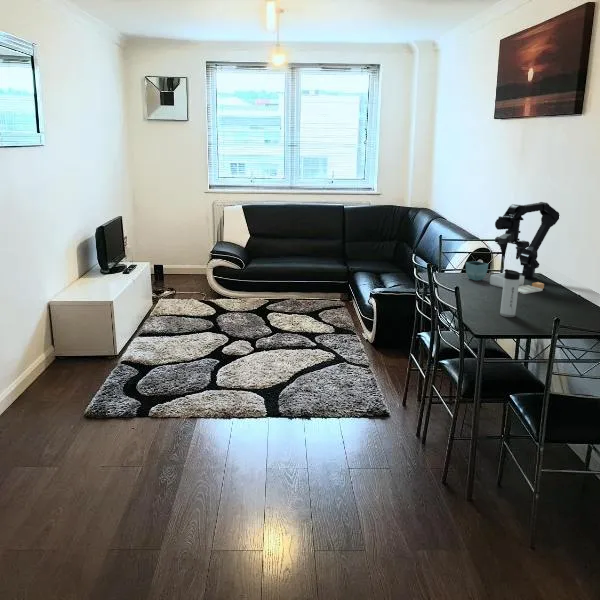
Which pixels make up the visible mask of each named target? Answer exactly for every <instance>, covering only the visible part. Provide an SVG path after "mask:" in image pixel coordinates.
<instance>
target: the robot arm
mask: <svg viewBox="0 0 600 600" xmlns="http://www.w3.org/2000/svg"><path fill="white" fill-rule="evenodd" d="M534 212H539V213H540V215H541V218H540V219H541V220H540V221H541V223H540V226H539V227H538V230H537V231H536V233H535V235H534V236H533V238H532V240H531V242H530V241H529V240H528V241H527V240H520V237H519V234H521V233H522V232H521V230H520V225H521V221H524V218H523V217H522V216H525V215H526V214H527V213H534ZM559 216H560V213H559V211H557V210H556V209H555V208H554V207H552V206H551V205H550V204H549V203H548V202H543V201H540V202H535V203H529V204H524V205H523V204H513V203H512V204H510V205H509V206H508V207H507V210H506V211H505V213H503V215H502V216H498V218H497V219H496V221H495V223H494V226H495V229H496V230H500V231H501V230H505V232H504V234H501V235H499V236H496V237H495V239H494V243H496V244H497V245H498V246H499V248H500V251H501V252H500V253H501V254H502V255H501V256H502V257H505V255H506V252H507V247H508V244H512V245H516V246H515V250H516V253H515V255H516V256H515V260H519V262H520V266H522V272H521V275H522V276H524V279H528V280H532V279H537V276H536V275H535V273H536V269H538V268H539V267H540V263H539V261H538V260H537V258H538V250H539V249H540V247H541V244H542V243H543V241H544V240H545V239H546V236H547V234H548V233H549V231H550V228H552V227H553V226H555V225H556V224H557V222H558V221H559V220H560V218H559Z"/></svg>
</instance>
